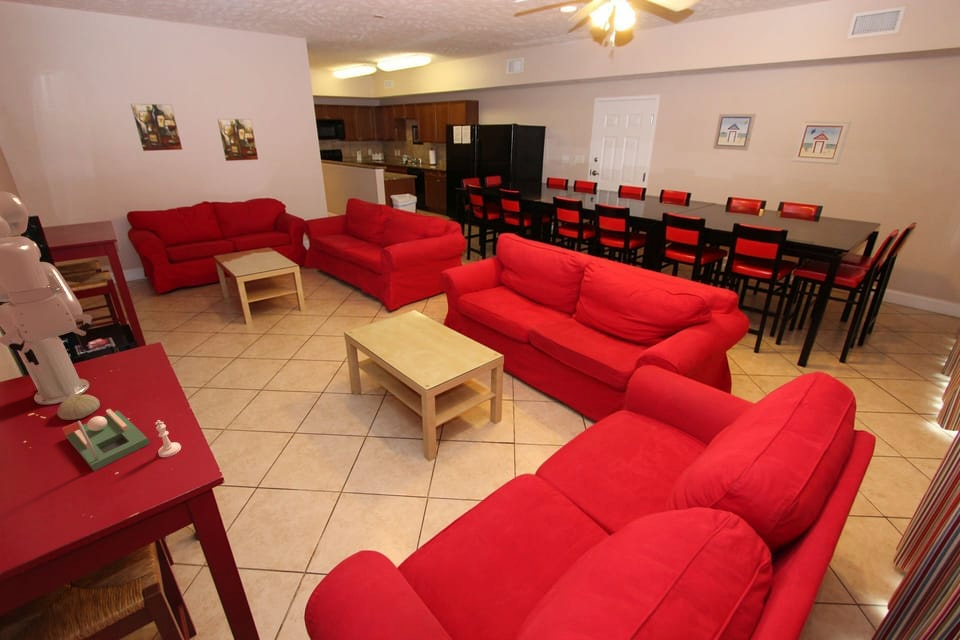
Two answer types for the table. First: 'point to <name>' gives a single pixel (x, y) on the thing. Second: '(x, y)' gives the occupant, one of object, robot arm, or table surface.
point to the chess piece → (166, 442)
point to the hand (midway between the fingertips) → (61, 355)
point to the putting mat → (106, 440)
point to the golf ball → (97, 423)
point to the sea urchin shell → (78, 407)
